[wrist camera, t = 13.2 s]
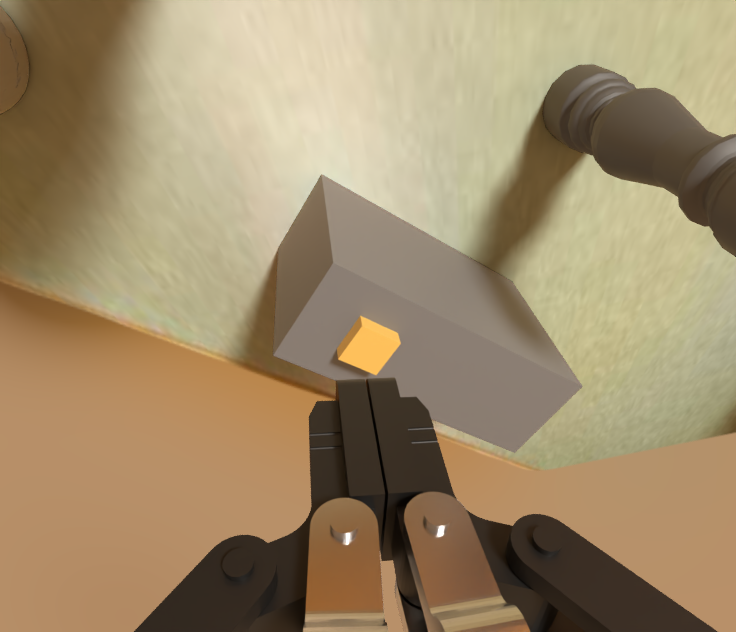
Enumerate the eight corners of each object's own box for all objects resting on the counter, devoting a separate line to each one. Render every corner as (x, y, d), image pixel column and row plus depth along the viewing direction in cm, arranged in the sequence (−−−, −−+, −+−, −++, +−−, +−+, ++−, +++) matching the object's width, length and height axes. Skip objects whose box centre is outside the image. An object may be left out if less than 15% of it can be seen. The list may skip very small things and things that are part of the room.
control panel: (464, 338, 58) (519, 464, 44) (278, 248, 50) (272, 366, 35) (512, 281, 54) (589, 397, 40) (321, 174, 46) (334, 272, 32)
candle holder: (627, 71, 44) (919, 173, 24) (596, 146, 48) (829, 293, 27) (558, 57, 43) (803, 152, 22) (532, 135, 46) (724, 281, 26)
